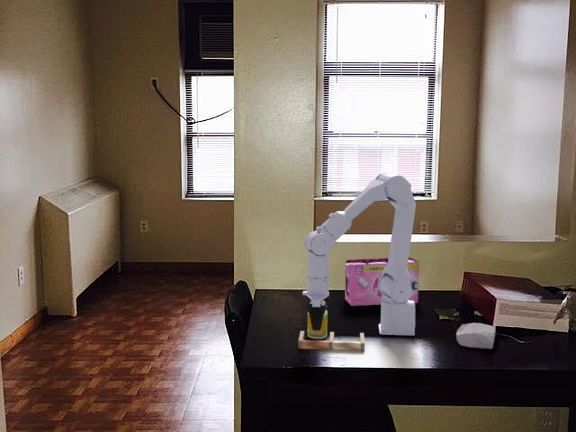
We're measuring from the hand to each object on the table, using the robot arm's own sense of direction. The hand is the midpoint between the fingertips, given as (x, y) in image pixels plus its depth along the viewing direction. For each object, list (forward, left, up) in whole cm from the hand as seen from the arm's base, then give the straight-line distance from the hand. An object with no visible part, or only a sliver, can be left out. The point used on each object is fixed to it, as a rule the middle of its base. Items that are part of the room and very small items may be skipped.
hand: (317, 325), depth 172 cm
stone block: (-42, -2, -4) cm, 43 cm away
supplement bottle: (0, -1, -4) cm, 4 cm away
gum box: (-19, -37, -4) cm, 42 cm away
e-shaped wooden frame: (-4, +5, -3) cm, 7 cm away
